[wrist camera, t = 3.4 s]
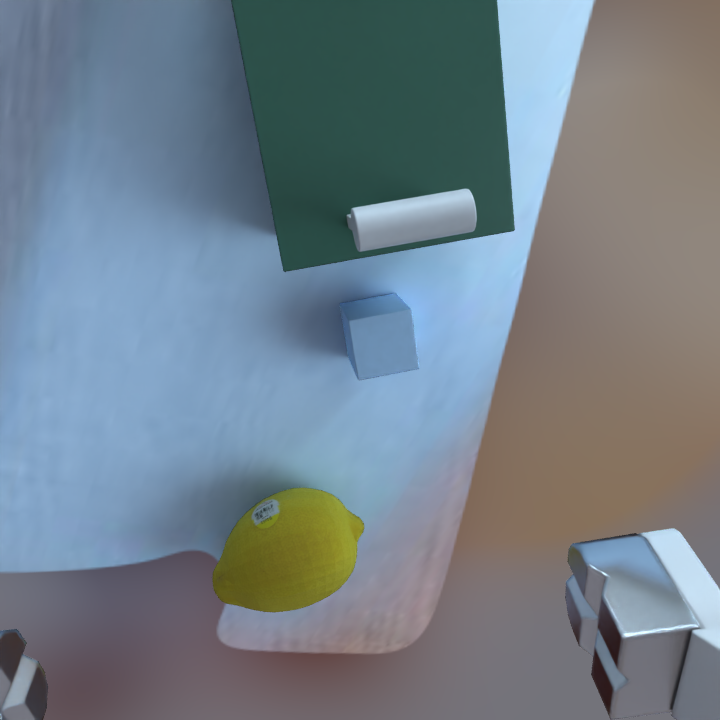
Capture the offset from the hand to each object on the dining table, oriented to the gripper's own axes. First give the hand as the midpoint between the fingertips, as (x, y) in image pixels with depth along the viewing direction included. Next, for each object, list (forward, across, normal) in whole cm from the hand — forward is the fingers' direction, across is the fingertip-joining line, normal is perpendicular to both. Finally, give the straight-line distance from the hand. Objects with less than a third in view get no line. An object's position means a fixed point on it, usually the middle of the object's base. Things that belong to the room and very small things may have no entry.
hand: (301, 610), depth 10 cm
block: (+33, +3, -14) cm, 36 cm away
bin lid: (+29, +5, +4) cm, 29 cm away
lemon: (+30, -5, -27) cm, 41 cm away
